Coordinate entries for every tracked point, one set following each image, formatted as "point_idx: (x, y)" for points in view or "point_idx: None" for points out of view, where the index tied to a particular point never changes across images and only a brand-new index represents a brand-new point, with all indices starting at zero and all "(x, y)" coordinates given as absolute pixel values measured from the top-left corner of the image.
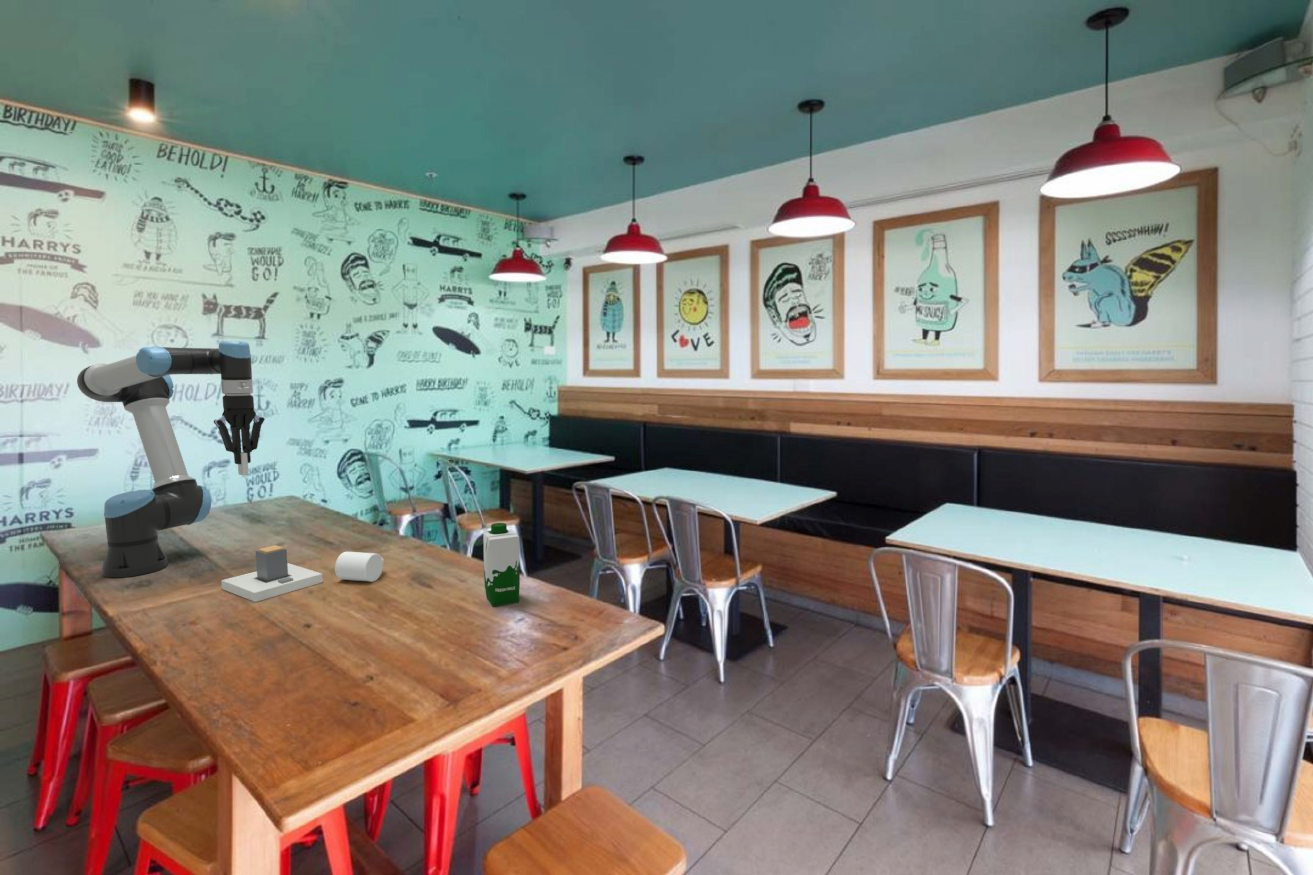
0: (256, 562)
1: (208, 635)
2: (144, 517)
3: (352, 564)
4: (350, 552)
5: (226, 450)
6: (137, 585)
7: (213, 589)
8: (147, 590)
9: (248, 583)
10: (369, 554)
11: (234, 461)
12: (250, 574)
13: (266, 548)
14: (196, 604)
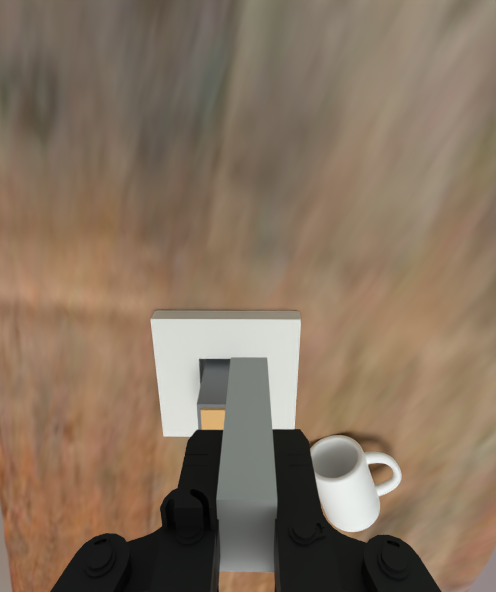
0: (200, 386)
1: (72, 486)
2: None
3: (322, 501)
4: (344, 493)
5: (82, 549)
6: (24, 105)
7: (143, 298)
8: (38, 178)
9: (178, 382)
10: (353, 527)
11: (186, 447)
12: (207, 330)
13: (216, 420)
14: (93, 357)
